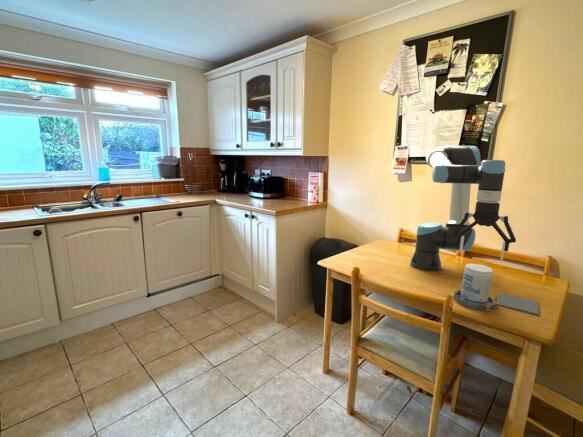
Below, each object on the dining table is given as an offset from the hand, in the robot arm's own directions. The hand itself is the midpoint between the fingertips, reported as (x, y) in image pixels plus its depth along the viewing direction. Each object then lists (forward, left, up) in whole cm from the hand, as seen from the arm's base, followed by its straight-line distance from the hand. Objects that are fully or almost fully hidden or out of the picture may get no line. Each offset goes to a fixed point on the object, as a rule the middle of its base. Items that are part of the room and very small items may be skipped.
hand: (480, 255), depth 116 cm
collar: (0, 0, -20) cm, 20 cm away
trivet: (+14, +9, -20) cm, 26 cm away
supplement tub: (0, 0, -20) cm, 20 cm away
